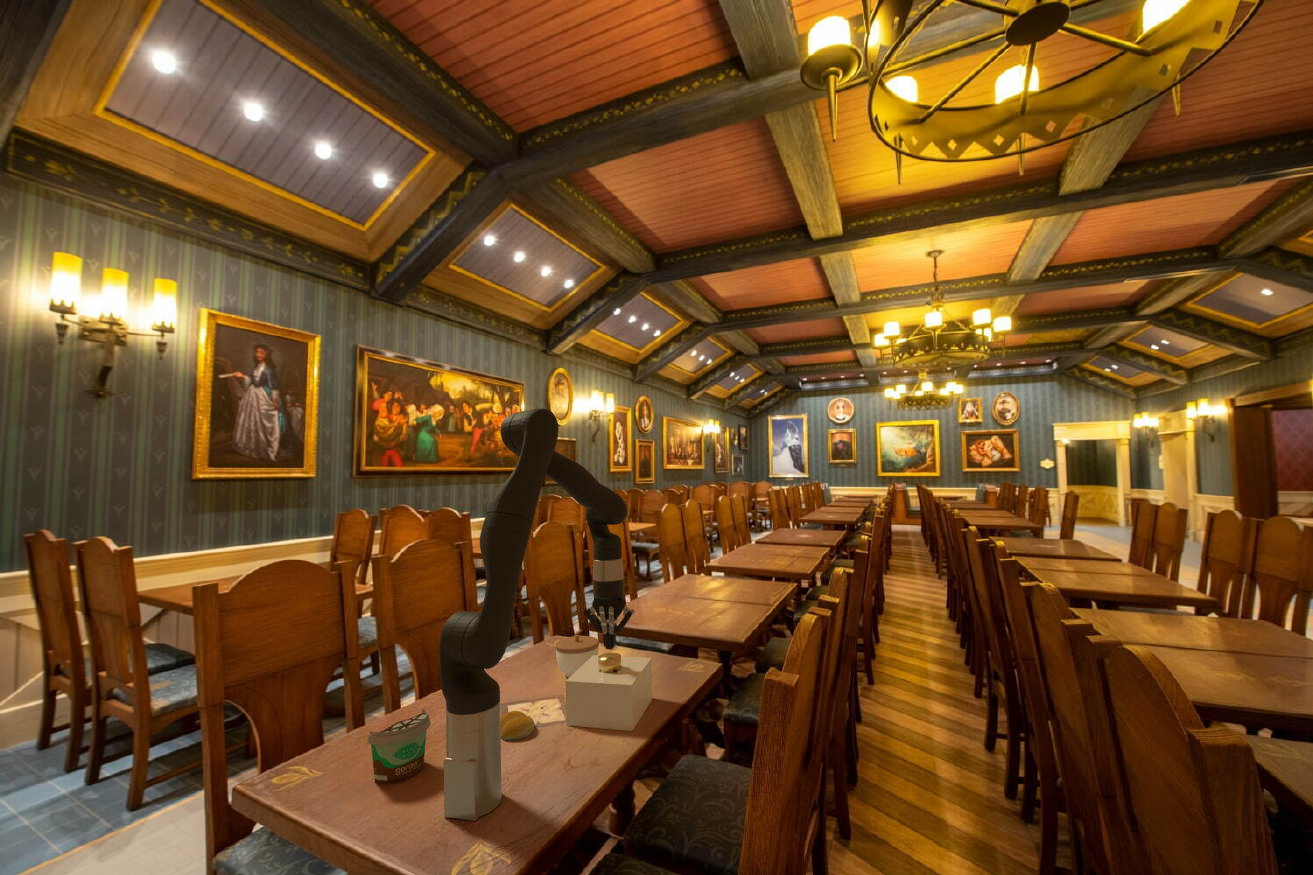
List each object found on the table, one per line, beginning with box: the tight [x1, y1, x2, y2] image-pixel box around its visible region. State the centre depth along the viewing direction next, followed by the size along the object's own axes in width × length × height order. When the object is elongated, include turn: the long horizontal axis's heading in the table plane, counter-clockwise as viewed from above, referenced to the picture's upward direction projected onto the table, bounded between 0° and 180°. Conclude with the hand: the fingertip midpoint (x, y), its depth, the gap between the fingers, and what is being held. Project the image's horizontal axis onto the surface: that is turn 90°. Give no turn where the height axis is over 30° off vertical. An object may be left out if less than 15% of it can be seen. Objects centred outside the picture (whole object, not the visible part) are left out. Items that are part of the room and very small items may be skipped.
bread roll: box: [500, 710, 535, 741], centre depth 123 cm, size 8×9×4 cm
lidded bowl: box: [554, 634, 600, 679], centre depth 158 cm, size 13×13×11 cm
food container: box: [367, 708, 432, 785], centre depth 107 cm, size 12×6×10 cm, turn 148°
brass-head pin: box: [598, 652, 622, 673], centre depth 132 cm, size 6×6×12 cm
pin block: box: [565, 654, 654, 732], centre depth 132 cm, size 18×16×10 cm
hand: (610, 648), depth 133 cm, fingers closed
